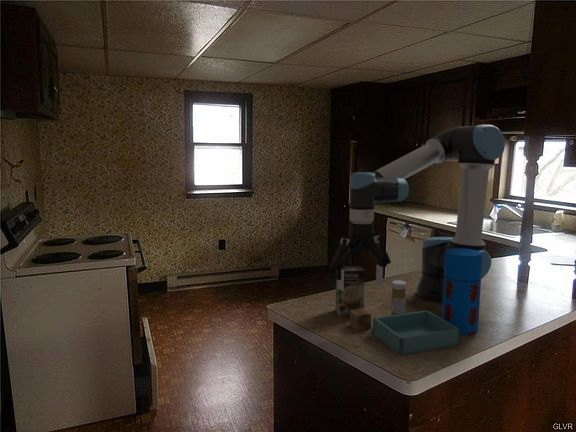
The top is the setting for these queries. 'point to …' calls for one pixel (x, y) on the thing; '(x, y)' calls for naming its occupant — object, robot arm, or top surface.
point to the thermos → (462, 289)
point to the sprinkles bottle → (398, 297)
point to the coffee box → (350, 291)
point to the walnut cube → (360, 319)
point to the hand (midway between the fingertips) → (360, 287)
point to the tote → (415, 332)
